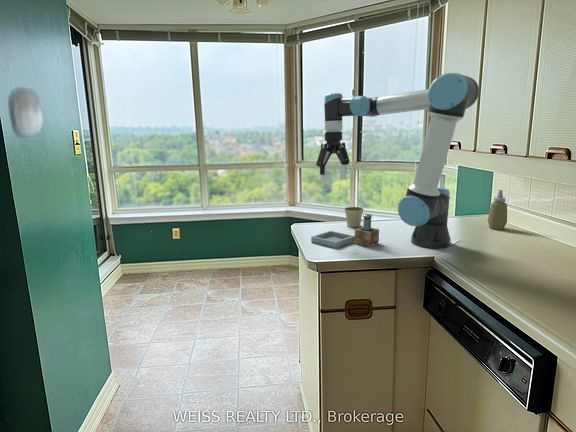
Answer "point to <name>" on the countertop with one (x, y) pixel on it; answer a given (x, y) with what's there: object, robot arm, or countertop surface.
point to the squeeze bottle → (498, 212)
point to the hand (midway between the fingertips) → (333, 180)
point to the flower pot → (353, 216)
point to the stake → (367, 222)
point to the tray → (332, 239)
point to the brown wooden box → (366, 236)
